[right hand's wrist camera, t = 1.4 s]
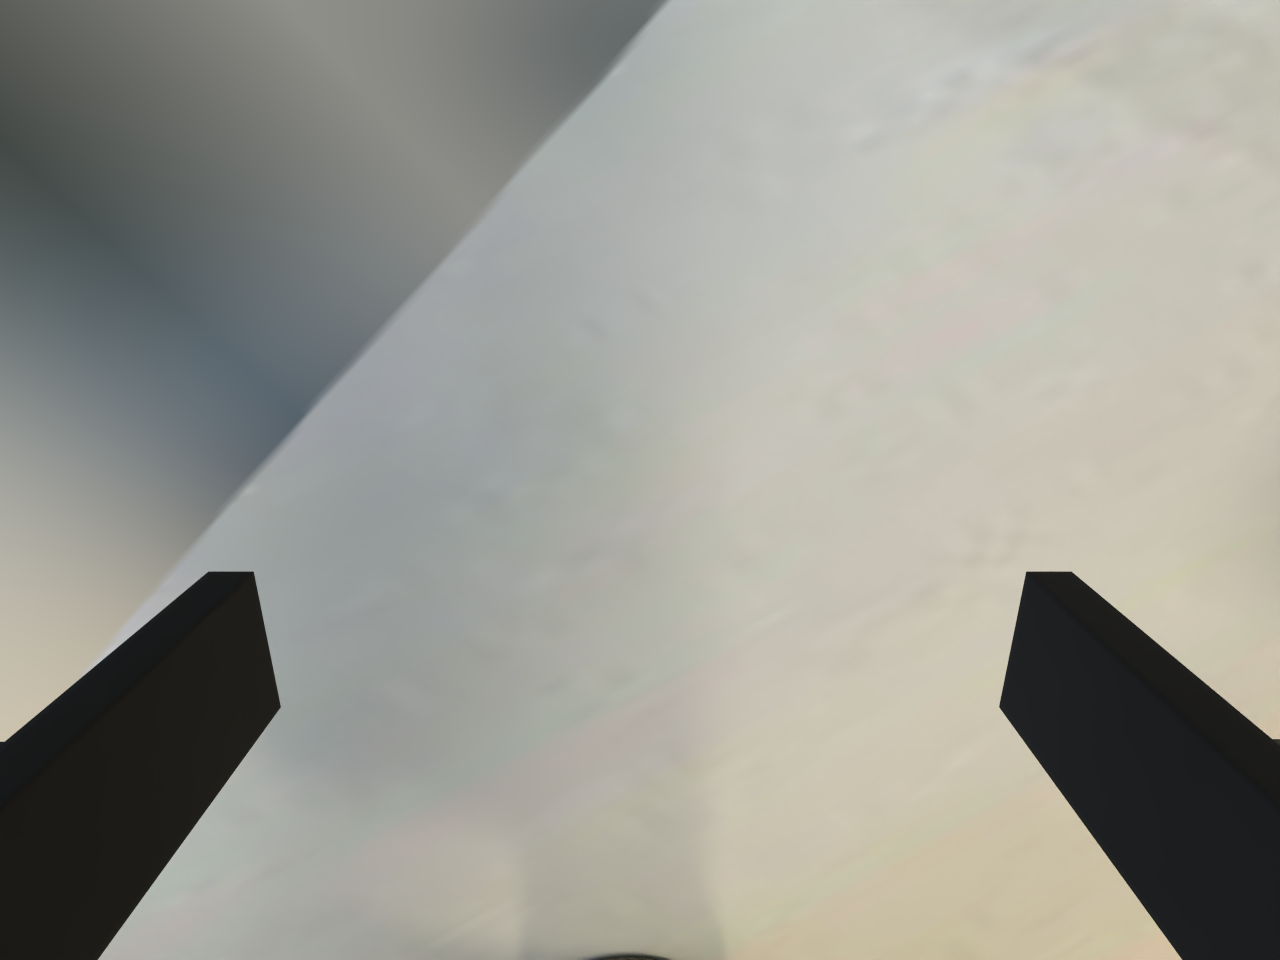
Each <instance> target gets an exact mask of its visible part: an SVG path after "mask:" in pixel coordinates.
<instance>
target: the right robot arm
mask: <svg viewBox="0 0 1280 960" xmlns="http://www.w3.org/2000/svg"><path fill="white" fill-rule="evenodd" d="M280 707H281V706H280V701H279V696H278V691H277V686H276V681H275V676H274V671H273V666H272V661H271V656H270V651H269V646H268V641H267V636H266V631H265V626H264V621H263V616H262V611H261V606H260V601H259V596H258V591H257V586H256V581H255V576H254V572H208V573H206V574H205V575H204V576H203V577H202V578H200V579H199V580H198V581H197V582H196V583H194V584H193V585H192V586H191V587H190V588H188V589H187V590H186V591H185V592H184V593H182V594H181V595H180V596H179V597H178V598H176V599H175V600H174V601H173V602H172V603H170V604H169V605H168V606H167V607H166V608H164V609H163V610H162V611H161V612H160V613H158V614H157V615H156V616H155V617H154V618H152V619H151V620H150V621H149V622H148V623H146V624H145V625H144V626H143V627H142V628H141V629H139V630H138V631H137V632H136V633H135V634H133V635H132V636H131V637H130V638H129V639H127V640H126V641H125V642H124V643H123V644H121V645H120V646H119V647H118V648H117V649H115V650H114V651H113V652H112V653H111V654H109V655H108V656H107V657H106V658H105V659H103V660H102V661H101V662H100V663H99V664H97V665H96V666H95V667H94V668H93V669H91V670H90V671H89V672H88V673H87V674H85V675H84V676H83V677H82V678H81V679H79V680H78V681H77V682H76V683H75V684H73V685H72V686H71V687H70V688H69V689H67V690H66V691H65V692H64V693H63V694H61V695H60V696H59V697H58V698H57V699H55V700H54V701H53V702H52V703H51V704H49V705H48V706H47V707H46V708H45V709H44V710H42V711H41V712H40V713H39V714H38V715H36V716H35V717H34V718H33V719H32V720H30V721H29V722H28V723H27V724H26V725H24V726H23V727H22V728H21V729H20V730H18V731H17V732H16V733H15V734H14V735H12V736H11V737H10V738H9V739H8V740H6V741H5V742H0V960H98V958H99V957H100V956H101V954H102V953H103V952H104V950H105V949H106V947H107V946H108V945H109V943H110V942H111V941H112V939H113V938H114V936H115V935H116V934H117V932H118V931H119V930H120V928H121V927H122V925H123V924H124V923H125V921H126V920H127V918H128V917H129V916H130V914H131V913H132V912H133V910H134V909H135V907H136V906H137V905H138V903H139V902H140V901H141V899H142V898H143V896H144V895H145V894H146V892H147V891H148V890H149V888H150V887H151V885H152V884H153V883H154V881H155V880H156V878H157V877H158V876H159V874H160V873H161V872H162V870H163V869H164V867H165V866H166V865H167V863H168V862H169V861H170V859H171V858H172V856H173V855H174V854H175V852H176V851H177V850H178V848H179V847H180V845H181V844H182V843H183V841H184V840H185V838H186V837H187V836H188V834H189V833H190V832H191V830H192V829H193V827H194V826H195V825H196V823H197V822H198V821H199V819H200V818H201V816H202V815H203V814H204V812H205V811H206V809H207V808H208V807H209V805H210V804H211V803H212V801H213V800H214V798H215V797H216V796H217V794H218V793H219V792H220V790H221V789H222V787H223V786H224V785H225V783H226V782H227V781H228V779H229V778H230V776H231V775H232V774H233V772H234V771H235V769H236V768H237V767H238V765H239V764H240V763H241V761H242V760H243V758H244V757H245V756H246V754H247V753H248V752H249V750H250V749H251V747H252V746H253V745H254V743H255V742H256V741H257V739H258V738H259V736H260V735H261V734H262V732H263V731H264V729H265V728H266V727H267V725H268V724H269V723H270V721H271V720H272V718H273V717H274V716H275V714H276V713H277V712H278V710H279V709H280ZM999 707H1000V709H1001V710H1002V712H1003V713H1004V714H1005V716H1006V717H1007V718H1008V720H1009V721H1010V723H1011V724H1012V725H1013V727H1014V728H1015V729H1016V731H1017V732H1018V734H1019V735H1020V736H1021V738H1022V739H1023V741H1024V742H1025V743H1026V745H1027V746H1028V747H1029V749H1030V750H1031V752H1032V753H1033V754H1034V756H1035V757H1036V758H1037V760H1038V761H1039V763H1040V764H1041V765H1042V767H1043V768H1044V769H1045V771H1046V772H1047V774H1048V775H1049V776H1050V778H1051V779H1052V781H1053V782H1054V783H1055V785H1056V786H1057V787H1058V789H1059V790H1060V792H1061V793H1062V794H1063V796H1064V797H1065V798H1066V800H1067V801H1068V803H1069V804H1070V805H1071V807H1072V808H1073V809H1074V811H1075V812H1076V814H1077V815H1078V816H1079V818H1080V819H1081V821H1082V822H1083V823H1084V825H1085V826H1086V827H1087V829H1088V830H1089V832H1090V833H1091V834H1092V836H1093V837H1094V838H1095V840H1096V841H1097V843H1098V844H1099V845H1100V847H1101V848H1102V850H1103V851H1104V852H1105V854H1106V855H1107V856H1108V858H1109V859H1110V861H1111V862H1112V863H1113V865H1114V866H1115V867H1116V869H1117V870H1118V872H1119V873H1120V874H1121V876H1122V877H1123V878H1124V880H1125V881H1126V883H1127V884H1128V885H1129V887H1130V888H1131V890H1132V891H1133V892H1134V894H1135V895H1136V896H1137V898H1138V899H1139V901H1140V902H1141V903H1142V905H1143V906H1144V907H1145V909H1146V910H1147V912H1148V913H1149V914H1150V916H1151V917H1152V918H1153V920H1154V921H1155V923H1156V924H1157V925H1158V927H1159V928H1160V930H1161V931H1162V932H1163V934H1164V935H1165V936H1166V938H1167V939H1168V941H1169V942H1170V943H1171V945H1172V946H1173V947H1174V949H1175V950H1176V952H1177V953H1178V954H1179V956H1180V957H1181V958H1182V960H1280V739H1271V738H1270V737H1269V736H1268V735H1266V734H1265V733H1264V732H1263V731H1262V730H1260V729H1259V728H1258V727H1257V726H1256V725H1254V724H1253V723H1252V722H1251V721H1250V720H1248V719H1247V718H1246V717H1245V716H1244V715H1242V714H1241V713H1240V712H1239V711H1238V710H1236V709H1235V708H1234V707H1233V706H1232V705H1231V704H1229V703H1228V702H1227V701H1226V700H1225V699H1223V698H1222V697H1221V696H1220V695H1219V694H1217V693H1216V692H1215V691H1214V690H1213V689H1211V688H1210V687H1209V686H1208V685H1207V684H1205V683H1204V682H1203V681H1202V680H1201V679H1199V678H1198V677H1197V676H1196V675H1195V674H1193V673H1192V672H1191V671H1190V670H1189V669H1187V668H1186V667H1185V666H1184V665H1183V664H1181V663H1180V662H1179V661H1178V660H1177V659H1175V658H1174V657H1173V656H1172V655H1171V654H1169V653H1168V652H1167V651H1166V650H1165V649H1163V648H1162V647H1161V646H1160V645H1159V644H1157V643H1156V642H1155V641H1154V640H1153V639H1151V638H1150V637H1149V636H1148V635H1147V634H1145V633H1144V632H1143V631H1142V630H1141V629H1139V628H1138V627H1137V626H1136V625H1135V624H1134V623H1132V622H1131V621H1130V620H1129V619H1128V618H1126V617H1125V616H1124V615H1123V614H1122V613H1120V612H1119V611H1118V610H1117V609H1116V608H1114V607H1113V606H1112V605H1111V604H1110V603H1108V602H1107V601H1106V600H1105V599H1104V598H1102V597H1101V596H1100V595H1099V594H1098V593H1096V592H1095V591H1094V590H1093V589H1092V588H1090V587H1089V586H1088V585H1087V584H1086V583H1084V582H1083V581H1082V580H1081V579H1080V578H1078V577H1077V576H1076V575H1075V574H1074V573H1072V572H1026V576H1025V581H1024V586H1023V591H1022V596H1021V601H1020V606H1019V611H1018V616H1017V621H1016V626H1015V631H1014V636H1013V641H1012V646H1011V651H1010V656H1009V661H1008V666H1007V671H1006V676H1005V681H1004V686H1003V691H1002V696H1001V701H1000V706H999ZM603 960H655V959H648V958H636V957H622V958H610V959H603Z"/></svg>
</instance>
